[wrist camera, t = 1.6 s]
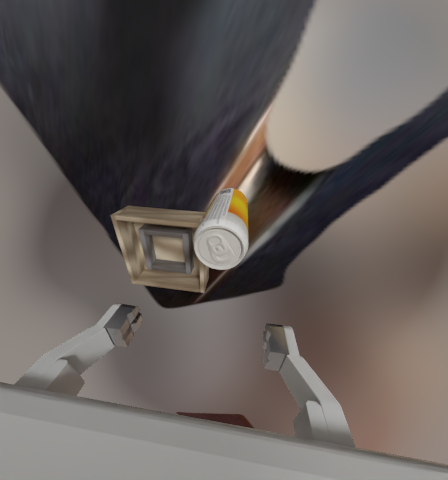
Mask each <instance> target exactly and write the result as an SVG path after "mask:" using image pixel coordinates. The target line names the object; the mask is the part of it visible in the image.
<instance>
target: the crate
mask: <svg viewBox="0 0 448 480" xmlns="http://www.w3.org/2000/svg"><path fill="white" fill-rule="evenodd" d="M205 214H206V213H205V212H194V211H183V210H171V209H160V208H149V207H137V206H127V207H125V208H123V209H121V210H119V211H117V212H116V213H114V214H112V215H111V218H112V222H113V225H114V228H115V231H116V234H117V237H118V241H119V244H120V247H121V250H122V253H123V256H124V260H125V263H126V266H127V269H128V272H129V275H130V279H131V282H132V284H138V285H146V286H154V287H161V288H169V289H177V290H185V291H193V292H201V293H204V292H205V288H206V285H207V281H208V278H209V267H208V266H206V265H205V264H203V263H202V262H201V261H200V260H199V259H198V257H197V256H196V253H195V250H194V243H193V238H194V234H195V231H196V230H197V228H198V226H199V224H200V223H201V221H202V219H203V217H204V216H205Z"/></svg>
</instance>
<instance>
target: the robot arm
mask: <svg viewBox="0 0 448 480" xmlns="http://www.w3.org/2000/svg"><path fill="white" fill-rule="evenodd" d="M139 311H140V309H139V307H138V306H132V305H125V304H118V303H115V304H113V305H112V306H111V307H110V308H109V310H108V311H107V312H106V313H105V314H104V316H103V317H102V318H101V319H100V321H99V322H98V323H97V324H96V325H95V326H92V327H90V328H89V329H87V330H85V331H83V332H81V333H80V334H78V335H76V336H75V337H73V338H71V339H69V340H68V341H66V342H64V343H63V344H61V345H59V346H58V347H56V348H54V349H52V350H51V351H49V352H47V353H46V354H44V355H43V356H42V357H41V358H40V359H39V360H38V361H37V362H36V363H35V364H34V365H33V366H32V367H31V368H30V369H29V370H28V371H27V372H26V373H25V374H24V375H23V376H22V377H21V378H20V379H19V380H18V381H17V382H16V383H15V384H14V385H12V384H7V383H2V382H0V480H448V465H446V464H442V463H437V462H432V461H426V460H421V459H415V458H410V457H404V456H399V455H394V454H388V453H383V452H377V451H372V450H366V449H361V448H356V447H355V444H354V442H353V439H352V436H351V433H350V431H349V428H348V425H347V422H346V419H345V416H344V414H343V411H342V408H341V405H340V404H339V403H338V401H337V400H336V399H335V398H334V397H333V395H332V394H331V393H330V391H329V390H328V389H327V388H326V386H325V385H324V384H323V382H322V381H321V380H320V379H319V377H318V376H317V375H316V374H315V372H314V371H313V370H312V369H311V367H310V366H309V365H308V364H307V362H306V361H305V360H304V358H303V357H300V356H299V352H298V348H297V344H296V340H295V336H294V332H293V329H292V327H290V326H282V325H274V324H266V325H265V331H263V337H262V345H263V349H264V350H265V352H264V355H263V358H264V368H265V369H270V370H275V371H279V373H280V374H281V376H282V378H283V380H284V381H285V383H286V385H287V387H288V388H289V390H290V392H291V394H292V396H293V398H294V399H295V401H296V403H297V405H298V406H299V408H300V412H299V413H298V414H297V416H296V417H295V418H294V420H293V424H294V430H295V436H290V435H285V434H279V433H273V432H268V431H263V430H257V429H252V428H247V427H241V426H236V425H230V424H225V423H219V422H214V421H208V420H203V419H198V418H192V417H187V416H181V415H175V414H170V413H165V412H159V411H154V410H149V409H143V408H138V407H132V406H126V405H121V404H116V403H110V402H104V401H100V400H94V399H89V398H83V397H78V396H77V394H78V393H79V391H80V390H81V388H82V387H83V385H84V380H83V379H82V377H81V376H80V374H82V373H83V372H84V371H85V370H86V369H88V368H89V367H90V366H91V365H92V364H94V363H95V362H96V361H97V360H99V359H100V358H101V357H102V356H103V355H105V354H106V353H107V352H108V351H109V350H111V349H112V348H113V347H114V346H122V347H128V346H129V344H130V342H131V341H132V339H133V337H134V332H135V331H137V330H138V329H139V327H140V325H141V322H142V315H141V314H140V313H139Z"/></svg>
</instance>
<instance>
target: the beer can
mask: <svg viewBox="0 0 448 480" xmlns="http://www.w3.org/2000/svg"><path fill="white" fill-rule="evenodd" d="M193 243H194V250H195V253H196V256H197V257H198V259H199V260H200V261H201V262H202V263H203V264H205V265H206V266H208V267H210V268H213V269H218V270H225V269H230V268H232V267H234V266H236V265H237V264H238V263H239V262H240V261H241V260H242V259H243V257H244V256H245V255H246V253H247V250H248V202H247V199H246V197H245V195H244V194H243V193H242V192H241V191H239V190H237V189H233V188H227V189H224V190H222V191H220V192H219V193H218V194H217V195H216V197H215V198H214V200H213V202H212V204H211V205H210V207H209V209H208V210H207V212H206V214H205V216H204V217H203V219H202V221H201V223H200V224H199V226H198V228H197V230H196V231H195V234H194V238H193Z"/></svg>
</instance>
